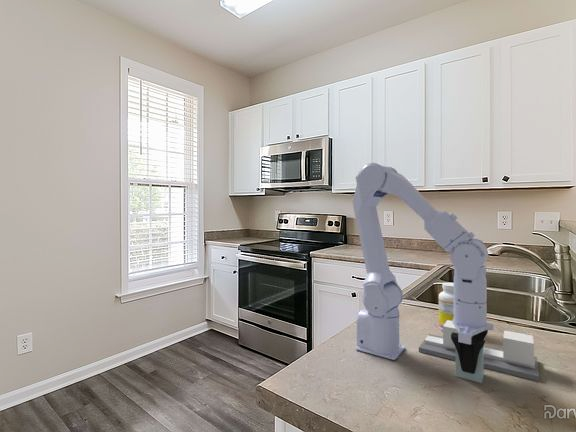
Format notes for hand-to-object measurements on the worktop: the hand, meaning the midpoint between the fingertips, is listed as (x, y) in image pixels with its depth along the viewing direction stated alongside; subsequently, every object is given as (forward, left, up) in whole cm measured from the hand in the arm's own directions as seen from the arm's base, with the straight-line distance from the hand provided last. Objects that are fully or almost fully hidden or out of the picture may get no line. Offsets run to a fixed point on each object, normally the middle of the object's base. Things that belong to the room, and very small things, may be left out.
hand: (469, 367), depth 62 cm
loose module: (0, 0, -2) cm, 2 cm away
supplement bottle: (-7, +24, -2) cm, 25 cm away
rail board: (0, +10, -2) cm, 10 cm away
